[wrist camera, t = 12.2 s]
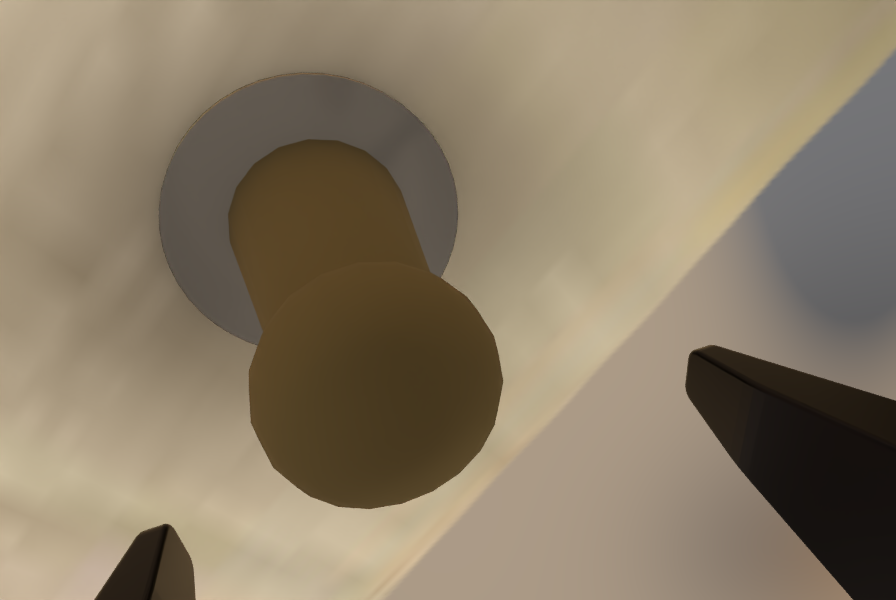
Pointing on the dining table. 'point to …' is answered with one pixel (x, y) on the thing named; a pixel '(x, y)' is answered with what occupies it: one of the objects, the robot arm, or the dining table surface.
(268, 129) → the coaster empty
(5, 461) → the dining table surface
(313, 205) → the brown rounded piece
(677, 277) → the dining table surface
